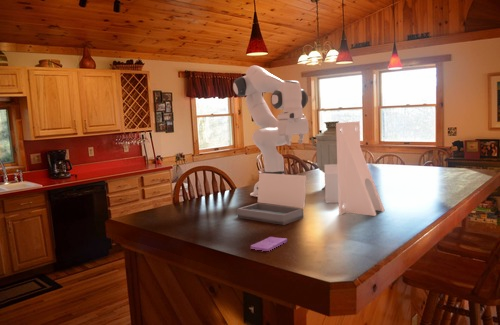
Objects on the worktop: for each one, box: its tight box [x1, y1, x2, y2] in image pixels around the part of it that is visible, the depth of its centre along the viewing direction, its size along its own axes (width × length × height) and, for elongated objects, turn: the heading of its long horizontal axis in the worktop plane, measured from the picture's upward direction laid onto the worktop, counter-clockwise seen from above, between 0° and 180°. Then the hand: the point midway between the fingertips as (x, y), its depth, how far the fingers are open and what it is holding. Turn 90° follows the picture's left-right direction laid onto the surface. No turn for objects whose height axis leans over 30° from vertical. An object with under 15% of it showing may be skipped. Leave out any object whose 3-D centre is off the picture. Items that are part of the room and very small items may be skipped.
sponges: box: [250, 236, 288, 252], centre depth 138 cm, size 7×13×2 cm, turn 145°
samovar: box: [309, 120, 341, 191], centre depth 239 cm, size 30×26×40 cm
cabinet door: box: [257, 172, 307, 209], centre depth 183 cm, size 26×14×2 cm
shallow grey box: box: [236, 202, 304, 226], centre depth 177 cm, size 26×14×4 cm, turn 48°
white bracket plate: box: [336, 121, 386, 217], centre depth 177 cm, size 20×14×40 cm
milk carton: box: [324, 164, 339, 204], centre depth 203 cm, size 7×7×19 cm
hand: (295, 144), depth 189 cm, fingers open, 8 cm apart
